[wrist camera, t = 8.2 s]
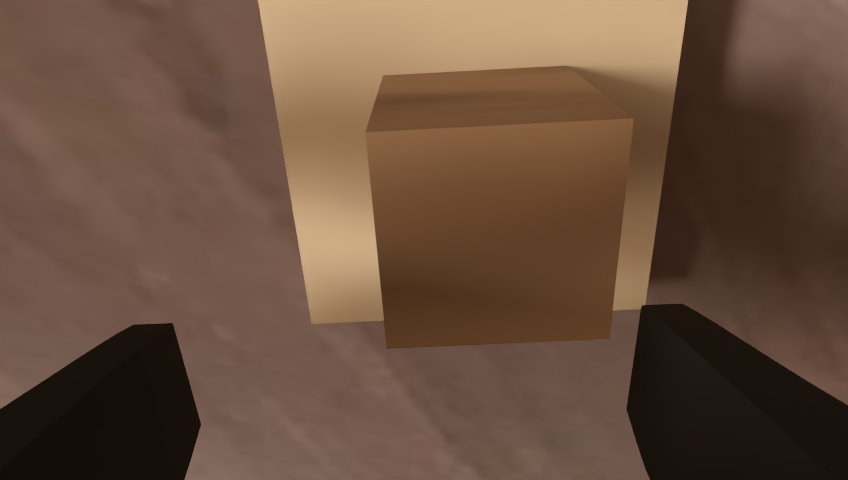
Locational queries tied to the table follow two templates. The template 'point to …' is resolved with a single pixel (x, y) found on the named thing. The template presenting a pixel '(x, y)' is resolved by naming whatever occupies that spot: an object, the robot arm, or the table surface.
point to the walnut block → (496, 205)
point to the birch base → (449, 52)
